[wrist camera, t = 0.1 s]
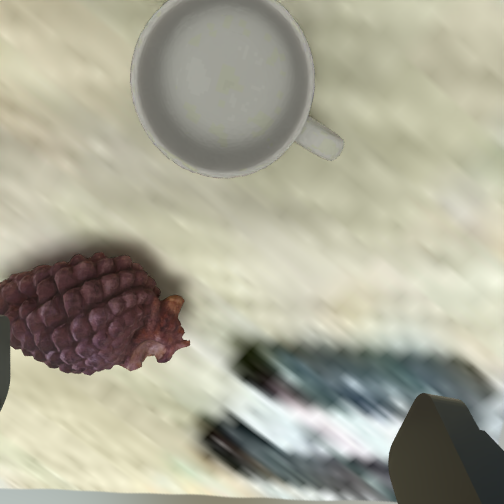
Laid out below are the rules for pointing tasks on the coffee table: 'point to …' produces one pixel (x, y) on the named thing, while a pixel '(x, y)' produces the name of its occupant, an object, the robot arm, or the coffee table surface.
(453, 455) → the robot arm
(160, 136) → the teacup
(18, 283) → the pine cone
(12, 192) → the coffee table surface
